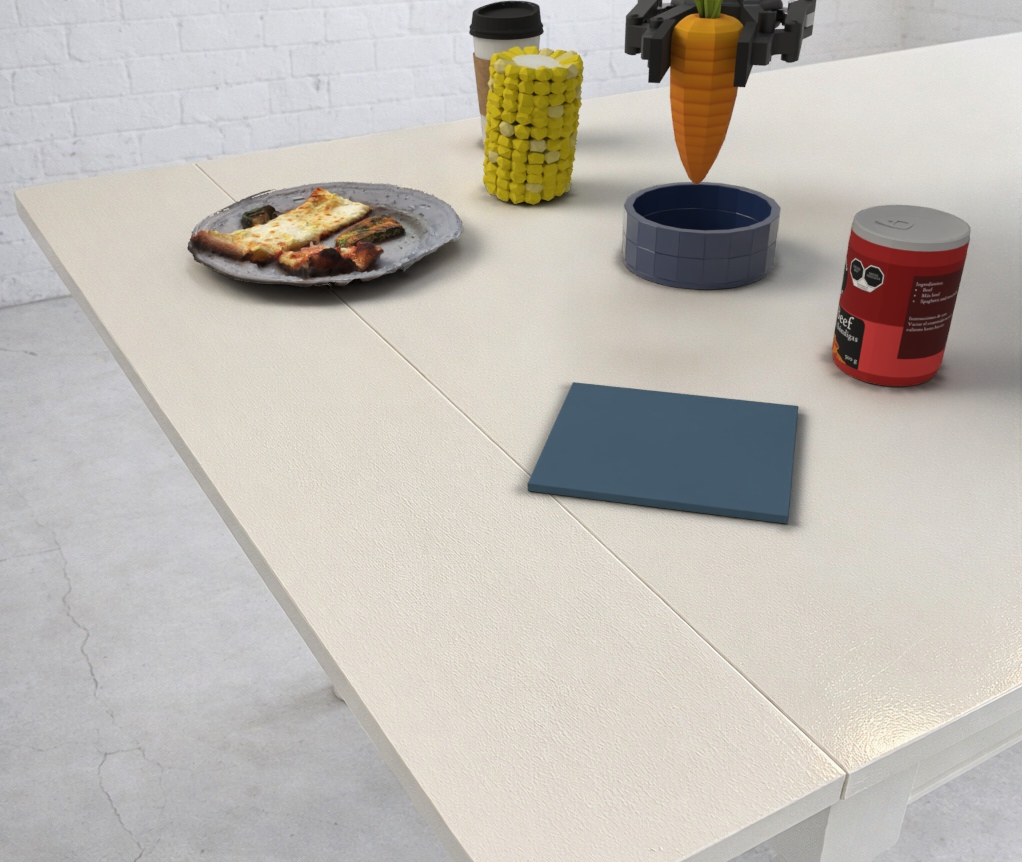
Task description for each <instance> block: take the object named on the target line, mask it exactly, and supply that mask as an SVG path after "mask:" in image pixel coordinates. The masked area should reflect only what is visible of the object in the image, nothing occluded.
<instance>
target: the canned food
mask: <svg viewBox="0 0 1022 862" xmlns="http://www.w3.org/2000/svg"><path fill="white" fill-rule="evenodd" d="M971 231H972V230H971V226H970V224H969V223H968V222H966V221H965V220H964V219H963V218H961V217H959V216H957V215H955V214H952V213H949V212H947V211H944V210H941V209H936V208H931V207H926V206H919V205H909V204H885V205H877V206H870V207H867V208H864V209H861V210H860V211H858V212H856V213H855V215H854V216H853V220H852V223H851V226H850V234H849V238H848V243H847V250H846V256H845V263H844V267H843V268H844V269H843V275H842V282H841V286H840V287H841V288H840V293H839V301H838V306H837V314H836V320H835V327H834V331H833V339H832V344H831V352H832V358H833V361H834V364H835V366H836V367H837V368H838V369H839V370H841V371H842V372H843V373H844V374H846V375H848V376H849V377H852V378H853V379H856V380H858V381H862V382H865V383H869V384H873V385H878V386H883V387H884V386H885V387H911V386H917V385H920V384H924V383H926V382H929V381H930V380H932V379H933V378H934V377H935V375H936V374H937V372H938V371H939V369H940V367H941V366H942V363H943V361H944V355H945V351H946V347H947V342H948V339H949V334H950V329H951V325H952V322H953V321H952V320H953V316H954V312H955V308H956V304H957V299H958V294H959V291H960V286H961V281H962V278H963V274H964V269H965V265H966V260H967V256H968V250H969V249H968V248H969V245H970V241H971V233H972V232H971Z"/></svg>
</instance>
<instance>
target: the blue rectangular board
mask: <svg viewBox="0 0 1022 862" xmlns="http://www.w3.org/2000/svg"><path fill="white" fill-rule="evenodd" d="M798 414H799V406H798V405H794V404H785V403H776V402H775V403H774V402H764V401H757V400H748V399H747V400H746V399H738V398H737V399H736V398H726V397H717V396H709V395H708V396H707V395H699V394H688V393H679V392H672V391H671V392H669V391H661V390H650V389H642V388H631V387H624V386H623V387H621V386H615V385H613V386H612V385H605V384H594V383H585V382H576V381H573V382H572V383H571V385H570V387H569V390H568V392H567V394H566V397H565V399H564V400H563V403H562V406H561V408H560V409H559V412H558V415H557V417H556V419H555V421H554V423H553V425H552V427H551V430H550V433H549V435H548V437H547V439H546V441H545V444H544V446H543V447H542V450H541V452H540V455H539V457H538V459H537V461H536V464H535V466H534V468H533V471H532V472H531V475H530V477H529V480H528V481H527V491H528V492H536V493H542V494H549V495H557V496H566V497H575V498H580V499H581V498H582V499H590V500H596V501H597V500H598V501H606V502H613V503H621V504H629V505H638V506H645V507H650V508H651V507H652V508H660V509H668V510H676V511H684V512H691V513H700V514H707V515H714V516H715V515H716V516H723V517H729V518H730V517H732V518H738V519H746V520H753V521H754V520H755V521H762V522H769V523H776V524H777V523H779V524H786V525H787V524H788V523H789V515H790V504H791V495H792V494H791V491H792V481H793V470H794V461H795V460H794V459H795V448H796V447H795V446H796V435H797V427H798Z"/></svg>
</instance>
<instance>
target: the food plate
mask: <svg viewBox="0 0 1022 862" xmlns="http://www.w3.org/2000/svg"><path fill="white" fill-rule="evenodd" d="M463 232H464V225H463V220H461V218H460V216H459V215H458V214H457V212H456V210H455V209H454V208H453V206H452V205H451V204H450V203H447V202H446V201H444V200H443V199H440V198H439V197H437V196H435V195H434V194H429V193H428V192H426V193H425V191H423V190H419V189H416V188H415V189H413V188H411V187H410V188H409V187H403V186H402V187H401V186H398V184H396V185H395V184H391V183H384V182H374V183H373V182H362V181H361V182H360V181H330V182H329V181H328V182H323V181H322V182H317V183H309V184H301V185H298V186H292V187H288V188H281V189H277V188H276V189H275V188H273V189H267V190H263V191H261V192H258V193H254V194H252V195H249V196H247V197H245V198H242V199H240V200H239V201H236V202H234V203H232V204H230V205H227V206H225V207H223V208H222V209H220V210H219V209H218V210H217V211H216V212H214V213H212V215H207V216H206V217H205V218H203V219H202V220H201V221H199V222H198V224H196V225H195V226H194V228H193V230H192V231H191V236H190V238H189V241H187V248H186V249H187V251H188V253H190V254H191V255H192V257H193V261H195V262H196V263H199V264H201V265H203V266H204V267H206V268H208V269H210V270H212V271H215V272H216V273H219V274H223V275H224V276H225V277H228V278H229V279H231V280H232V281H233V280H237V281H240V282H241V281H242V282H248V283H250V284H265V285H271V284H272V285H274V284H275V285H277V284H278V285H290V286H294V287H302V288H308V287H311V286H316V287H321V286H327V285H328V286H329V290H330V291H331V290H332V289H333V285H332V284H331V283H334V285H335V286H340V287H342V286H343V287H344V286H346V285H347V286H348V284H349V283H350V282H352V281H353V280H357V279H360V280H361V282H369V281H372V280H374V279H377V278H380V277H382V276H385V275H390V274H395V273H396V272H397V270H402V271H403V272H406V271H407V270H408V269H409V268H410V267H412V266H413V265H414V264H415V263H416V262H419V261H421V260H422V258H424V257H426V256H429V255H431V254H432V253H435V252H437V251H438V249H439V248H440V247H444V246H445V244H447V243H449V242H458V241H459V240H460V237H462V234H464V233H463Z"/></svg>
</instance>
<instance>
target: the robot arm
mask: <svg viewBox="0 0 1022 862" xmlns="http://www.w3.org/2000/svg"><path fill="white" fill-rule="evenodd" d="M816 6H817V0H788V2H787V7H785V6H784V3H783V0H723V2H722V4H721V10H720V13H721V14H725V15H728V16H731V17H734V18H736V19H738V20H739V21H740V22H741V24H742V25H743V26H744V28H743V31H742V33H741V35H740V37H739V40H738V42H737V51H736V62H735V73H734V83H733V87H738V88H746V86H747V83H748V80H749V78H750V75H751V72H752V69H753V67H754V66H759V67H760V66H761V67H762V66H763V67H765V66H768V65H770V62H772V57H773V56H776V55H777V56H778V55H780V60H781V62H785V63H786V64H793V63H795V62H798V61H799V60H800V54H801V50H802V45H803V40H805V39H807V38H809V37H811V36H812V35H813V31H814V23H815V14H816ZM697 13H698V9H697V6H696V4H695V1H694V0H670V2H663V0H637V3H636V4H635V5H634V7H632V9H631V10H630V11H629V12H628V13H627V14H626V15H625V27H624V28H625V29H624V54H626V55H628V56H636V55H640V59H641V60H642V61H647V65H646V66H647V68H648V76H647V77H648V78H647V82H648V83H649V84H660V83H661V82H662V80H663V79H664V78H665V75H666V74H667V73H668V71H669V70H670V59H671V38H672V33H673V30H674V27H675V26H676V25H677V24H678V23H679V22H680V21H681V20H682V19H684V18H685V17H686V16H688V15H691V14H697ZM780 25H781V26H782V27H783V28H779V26H780Z"/></svg>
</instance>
